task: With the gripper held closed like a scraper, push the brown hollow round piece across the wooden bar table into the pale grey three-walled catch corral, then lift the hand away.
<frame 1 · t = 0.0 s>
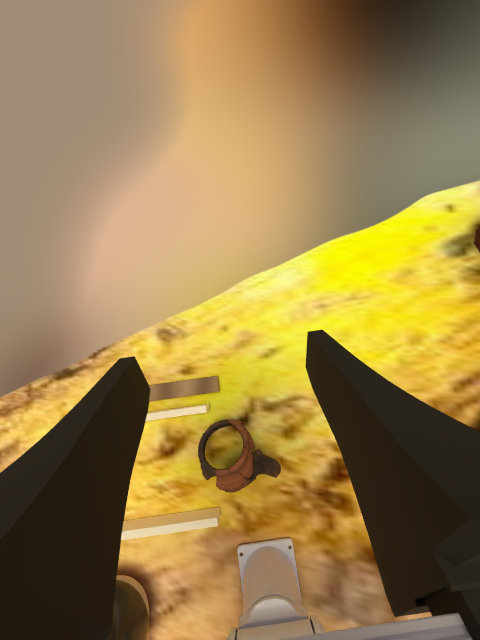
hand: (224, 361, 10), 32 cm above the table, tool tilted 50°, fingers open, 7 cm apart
catch corral: (164, 463, 39), on the table
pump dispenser: (123, 602, 35), on the table
walnut scraper: (172, 390, 42), on the table
brown hollow round piece: (239, 452, 39), on the table
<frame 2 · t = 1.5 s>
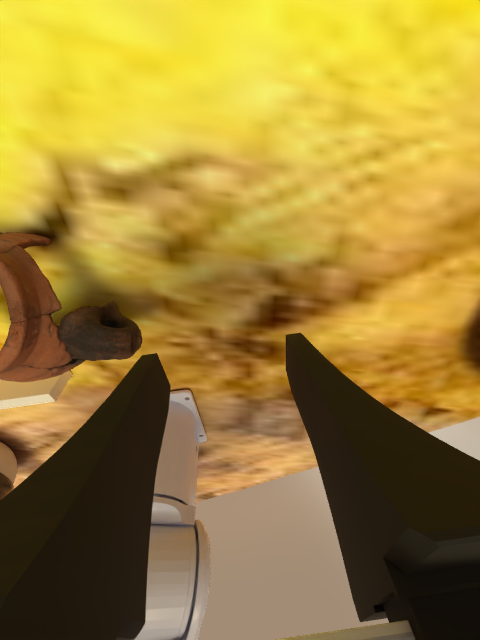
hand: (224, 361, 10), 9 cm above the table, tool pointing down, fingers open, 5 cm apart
brown hollow round piece: (73, 296, 19), on the table
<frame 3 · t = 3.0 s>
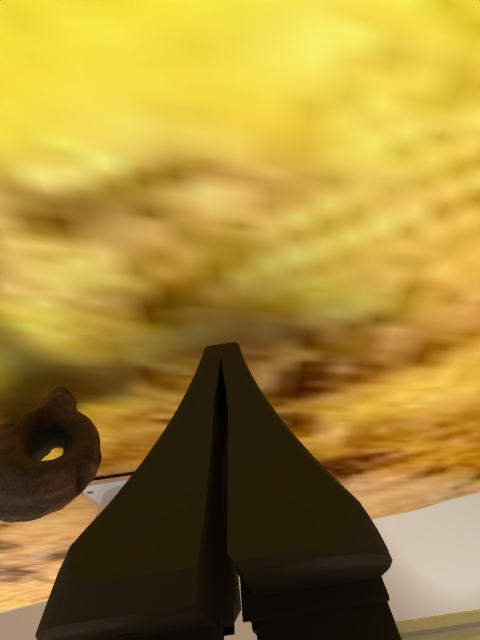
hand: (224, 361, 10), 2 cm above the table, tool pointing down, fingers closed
brown hollow round piece: (6, 375, 13), on the table
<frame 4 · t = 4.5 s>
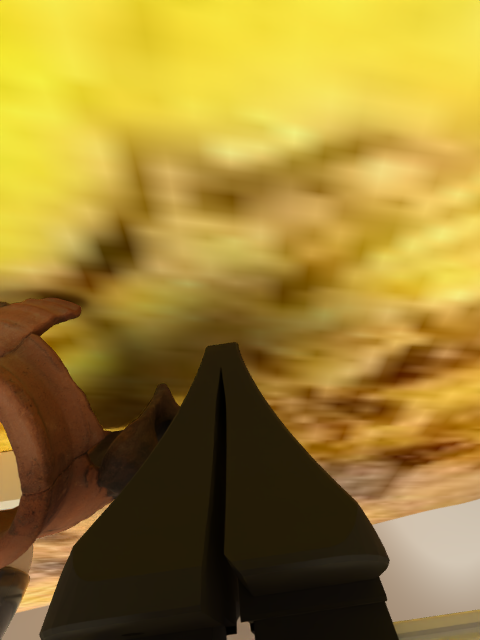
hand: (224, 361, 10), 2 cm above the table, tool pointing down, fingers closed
brown hollow round piece: (103, 371, 13), on the table, touching gripper
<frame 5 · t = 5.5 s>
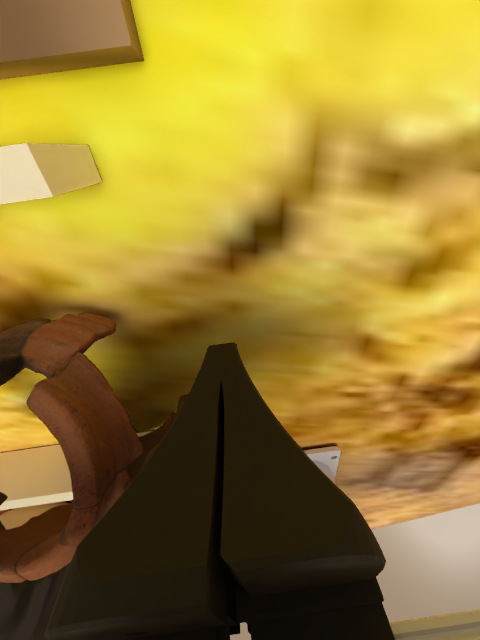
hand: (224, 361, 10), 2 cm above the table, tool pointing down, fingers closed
catch corral: (2, 367, 12), on the table
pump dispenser: (54, 509, 22), on the table
brown hollow round piece: (126, 380, 14), on the table, touching gripper
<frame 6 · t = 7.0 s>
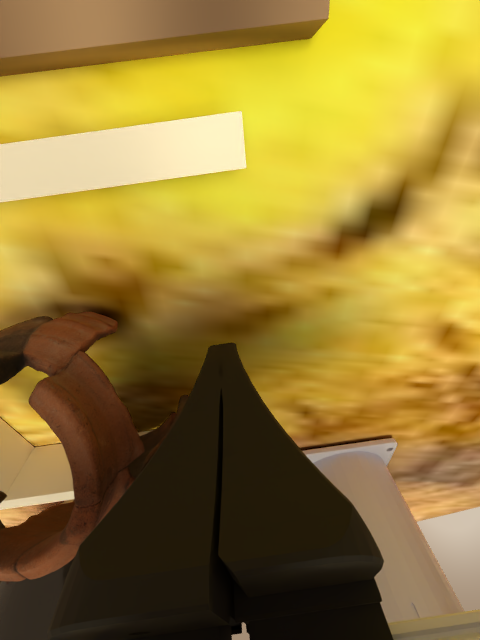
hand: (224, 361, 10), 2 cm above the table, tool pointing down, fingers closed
catch corral: (91, 353, 12), on the table
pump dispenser: (102, 502, 22), on the table
brown hollow round piece: (126, 380, 14), on the table, touching catch corral, gripper
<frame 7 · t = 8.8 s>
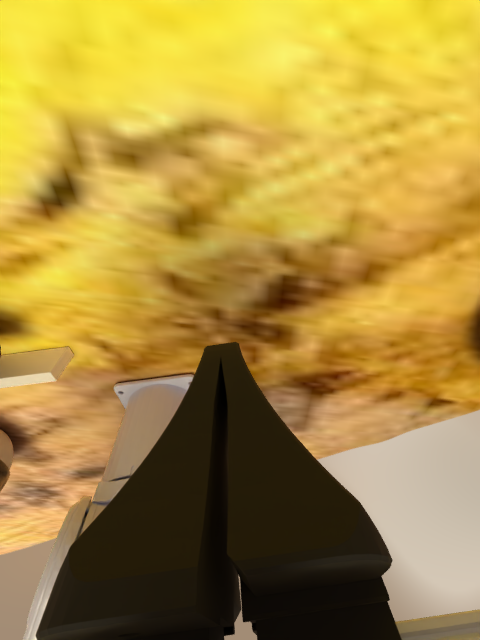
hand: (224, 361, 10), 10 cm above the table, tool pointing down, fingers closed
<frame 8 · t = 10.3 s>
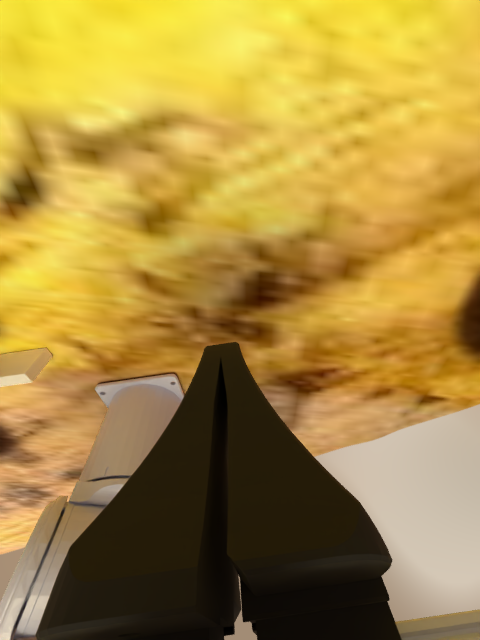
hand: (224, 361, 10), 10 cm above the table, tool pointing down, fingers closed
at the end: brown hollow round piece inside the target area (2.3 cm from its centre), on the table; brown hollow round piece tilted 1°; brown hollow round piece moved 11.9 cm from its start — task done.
